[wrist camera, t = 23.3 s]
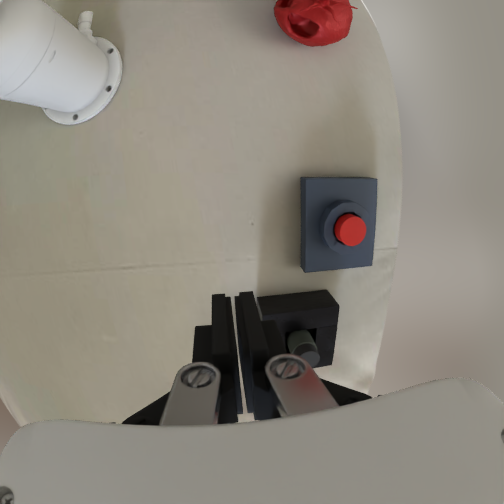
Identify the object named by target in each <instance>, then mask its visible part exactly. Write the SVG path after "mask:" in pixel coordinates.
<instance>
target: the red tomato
mask: <svg viewBox="0 0 504 504" xmlns="http://www.w3.org/2000/svg"><path fill="white" fill-rule="evenodd" d="M351 7H352V8H355V7H353V6H350V3H349V0H278V1H277V2H276V5H275V7H274V14H275V17H276V20H277V23H278V24H279V26H280V27H281V29H282V30H283V31H284V32H285V33H286V34H287V35H288V36H290V37H291V38H292V39H294V40H296V41H297V42H299V43H302V44H304V45H307V46H324V45H328V44H332V43H335V42H338V41H339V40H341V39H342V38H345V37H346V36H347V35H348V33H349V30H350V25H351V22H352V18H353V17H352V9H351ZM355 9H358V8H355Z"/></svg>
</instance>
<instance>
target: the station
mask: <svg viewBox="0 0 504 504" xmlns="http://www.w3.org/2000/svg"><path fill="white" fill-rule="evenodd" d="M376 207H377V179H374V178H367V177H301V263H300V267H301V268H302V269H303V271H304V272H305V273H307V272H317V271H327V270H337V269H346V268H356V267H365V266H372V260H373V250H374V238H375V225H376ZM345 214H352V215H355V216H357V217H359V218H361V219H362V220H363V221H364V223H365V225H366V235H365V237H364V239H363V240H362V242H361V243H359V244H358V245H355V246H348V245H346V244H344V243H343V242H341V241H340V240H339V239H338V238H337V237H336V235H335V231H334V228H335V224H336V221H337V220H338V219H339V218H340V217H341V216H342V215H345Z"/></svg>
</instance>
